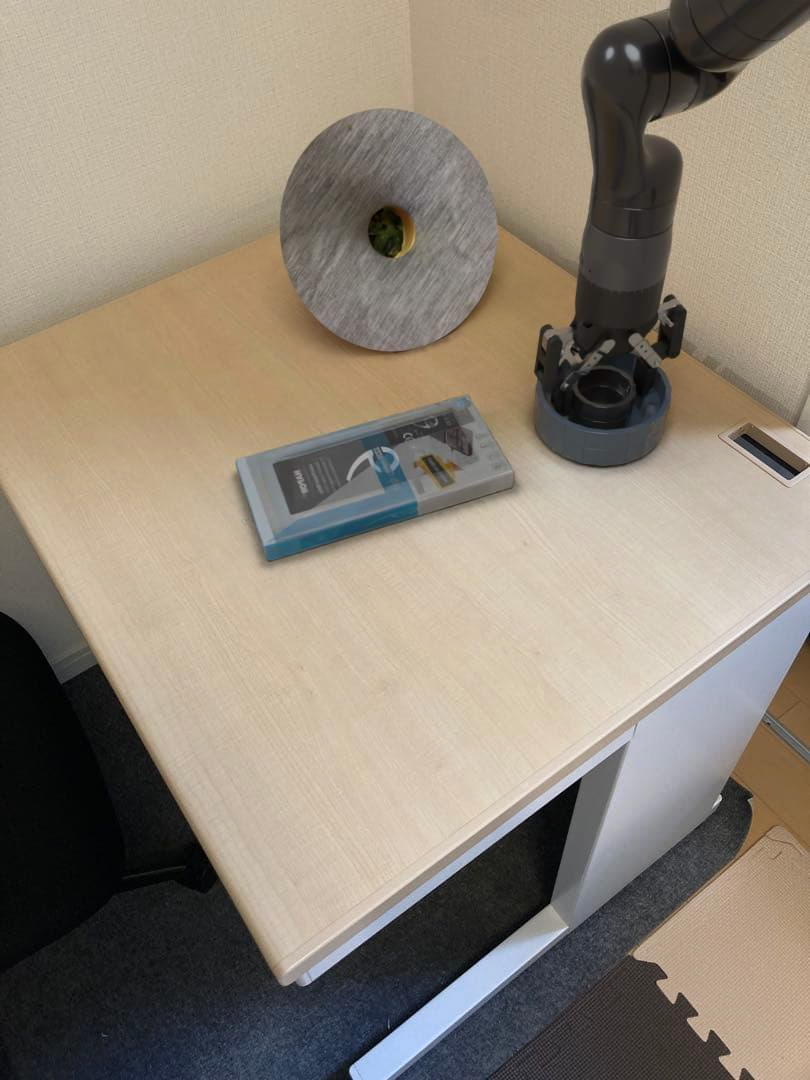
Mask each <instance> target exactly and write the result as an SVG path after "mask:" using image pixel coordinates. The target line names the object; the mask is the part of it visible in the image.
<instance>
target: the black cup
mask: <svg viewBox="0 0 810 1080" xmlns="http://www.w3.org/2000/svg"><path fill="white" fill-rule="evenodd" d="M572 389H573V393H572V401H571V409H570V415H569V417H570V420H571V422H573V423H576V424H579V425H581V426H584V427H587V428H594V429H603V430H613V429H623V428H626V427H627V425H628V424H629V423H630V419H631V414H632V409H633V404H634V399H635V394H636V384H635V382H634V380H633V378H632V377H631V376H630V375H628V374H627V373H626V372H625V371H623V370H620V369H618V368H615V367H611V366H602V365H601V366H594V367H593V368H592V370H591V371H590V372H589V373H588V374H587V375H585V376H584V375H582V376H581V377H580V378H579V379H578V380H577V381H576V383H575V384H574V385H573V386H572Z"/></svg>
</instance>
